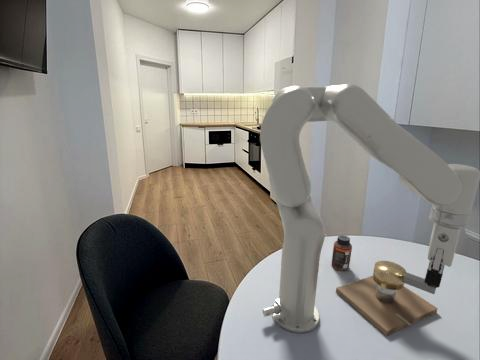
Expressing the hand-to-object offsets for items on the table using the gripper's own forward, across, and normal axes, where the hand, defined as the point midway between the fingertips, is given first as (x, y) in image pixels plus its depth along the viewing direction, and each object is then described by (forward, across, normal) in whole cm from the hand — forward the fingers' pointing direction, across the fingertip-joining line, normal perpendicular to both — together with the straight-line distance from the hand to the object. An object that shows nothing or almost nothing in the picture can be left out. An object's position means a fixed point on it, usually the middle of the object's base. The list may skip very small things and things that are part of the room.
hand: (432, 280), depth 73 cm
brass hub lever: (+5, 0, +6) cm, 8 cm away
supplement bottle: (+13, +10, +26) cm, 31 cm away
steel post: (+11, 0, +10) cm, 15 cm away
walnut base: (+12, 0, +10) cm, 16 cm away
